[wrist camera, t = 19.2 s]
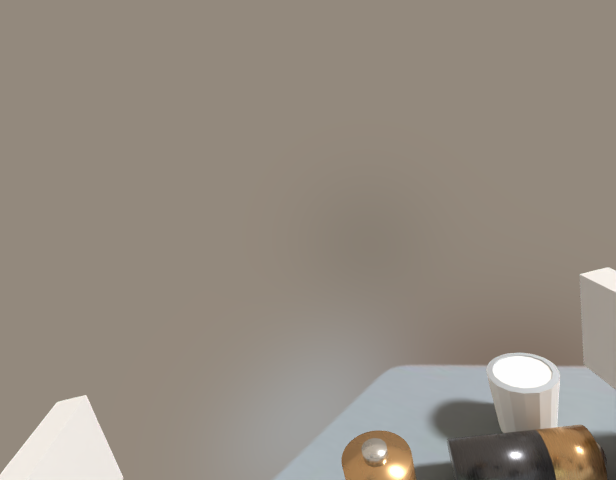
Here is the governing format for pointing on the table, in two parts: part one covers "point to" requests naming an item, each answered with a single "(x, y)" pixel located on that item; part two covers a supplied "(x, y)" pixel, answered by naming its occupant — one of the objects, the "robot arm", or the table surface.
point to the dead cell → (529, 455)
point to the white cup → (524, 391)
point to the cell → (378, 458)
